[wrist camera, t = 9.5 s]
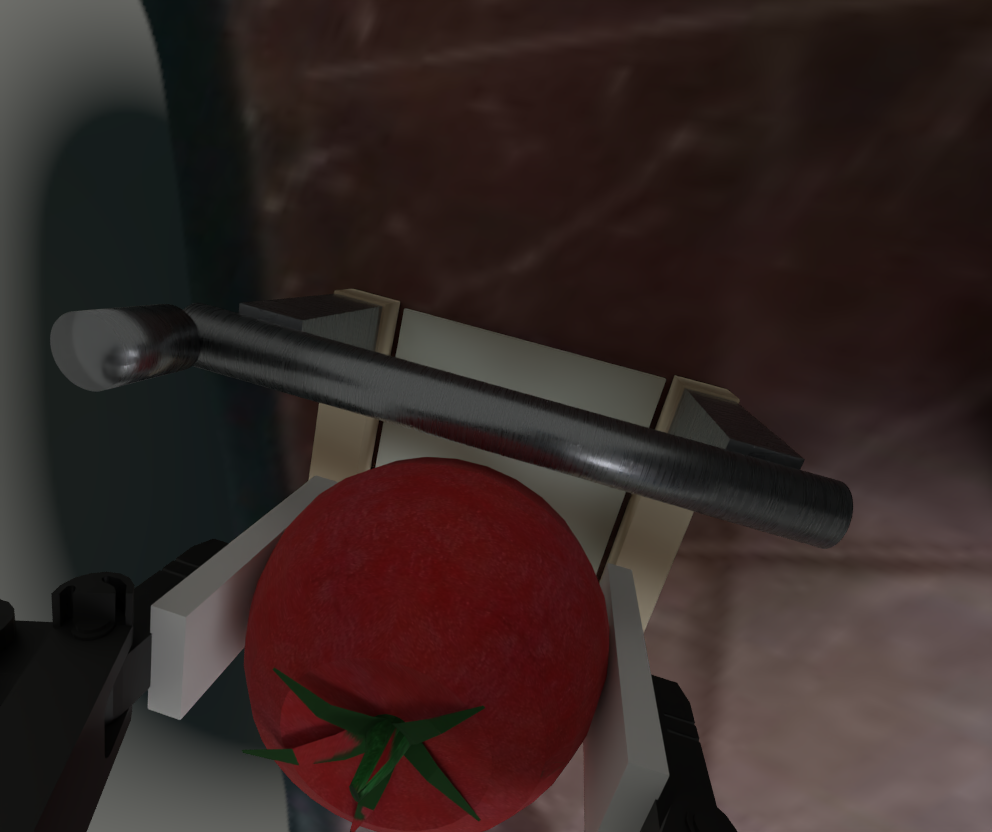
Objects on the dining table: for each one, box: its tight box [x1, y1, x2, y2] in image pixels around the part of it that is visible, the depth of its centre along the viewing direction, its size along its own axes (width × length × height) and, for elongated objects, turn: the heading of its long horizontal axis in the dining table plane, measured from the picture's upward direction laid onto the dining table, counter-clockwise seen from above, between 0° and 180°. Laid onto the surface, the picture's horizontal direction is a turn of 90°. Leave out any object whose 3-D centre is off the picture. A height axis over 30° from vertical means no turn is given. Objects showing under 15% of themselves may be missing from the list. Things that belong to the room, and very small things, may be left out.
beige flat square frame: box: [309, 289, 740, 633], centre depth 21 cm, size 16×15×2 cm
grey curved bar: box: [50, 294, 853, 549], centre depth 14 cm, size 2×17×9 cm, turn 76°
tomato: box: [242, 457, 609, 832], centre depth 12 cm, size 9×9×8 cm
